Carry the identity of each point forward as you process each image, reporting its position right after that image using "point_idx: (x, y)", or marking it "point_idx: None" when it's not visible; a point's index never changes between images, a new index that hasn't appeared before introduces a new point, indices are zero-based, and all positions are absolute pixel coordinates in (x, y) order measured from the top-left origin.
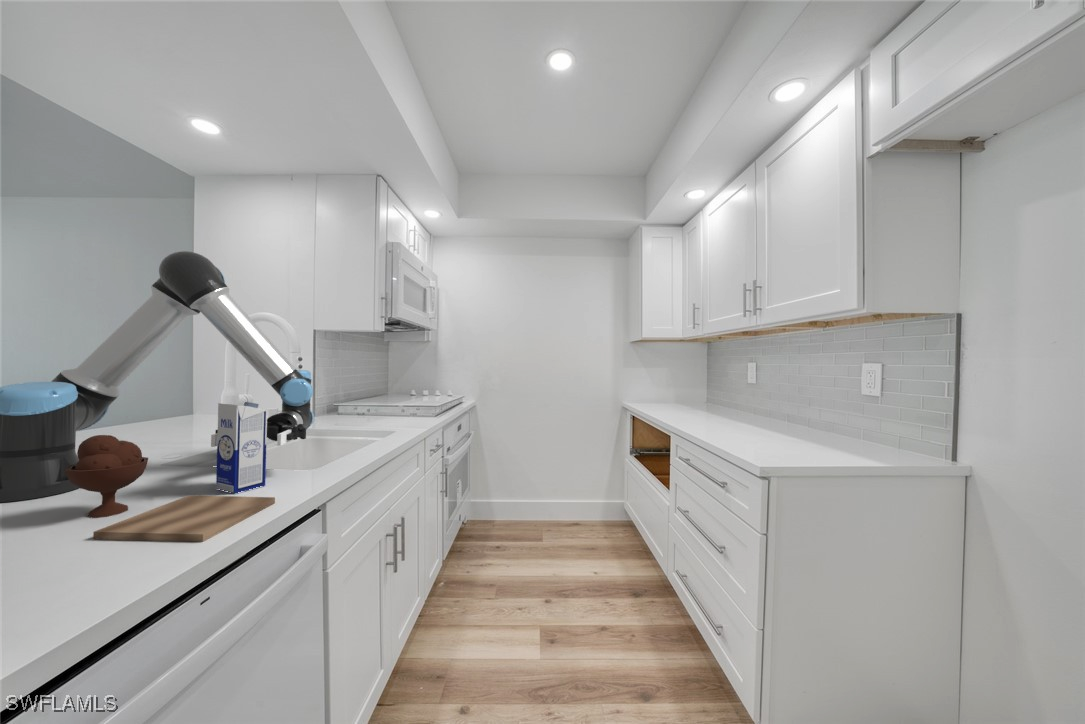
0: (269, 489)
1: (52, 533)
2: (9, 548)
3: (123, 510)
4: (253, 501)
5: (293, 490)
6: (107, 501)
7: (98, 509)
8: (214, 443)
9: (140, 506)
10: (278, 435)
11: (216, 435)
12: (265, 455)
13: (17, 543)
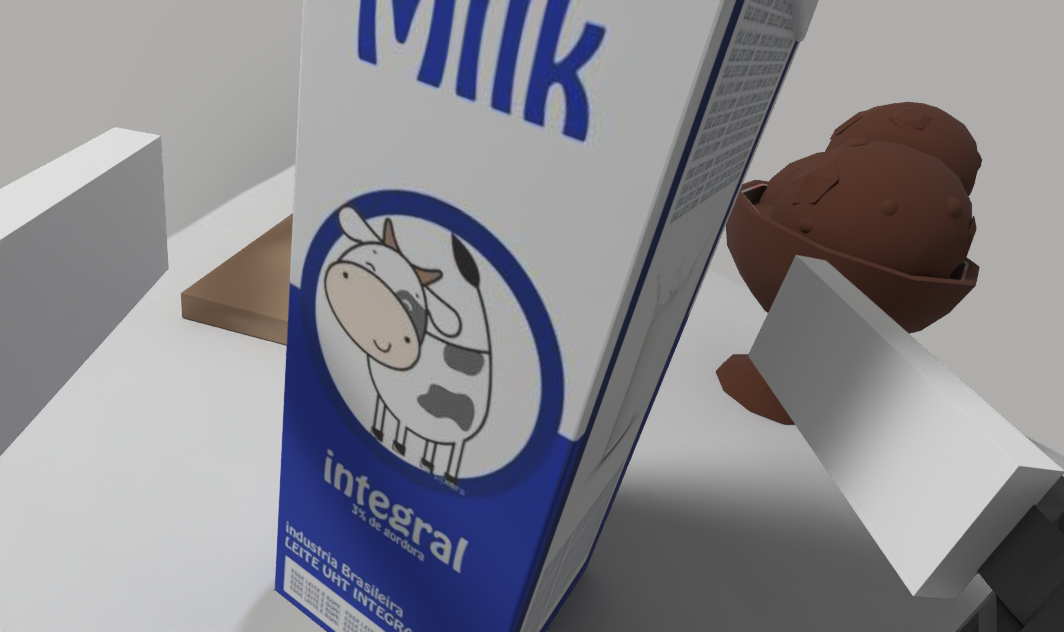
0: (230, 503)
1: (727, 307)
2: (717, 273)
3: (723, 378)
4: (271, 283)
5: (58, 451)
6: None
7: None
8: (763, 330)
9: (724, 415)
10: (147, 147)
11: (805, 276)
12: (289, 378)
13: (732, 286)
